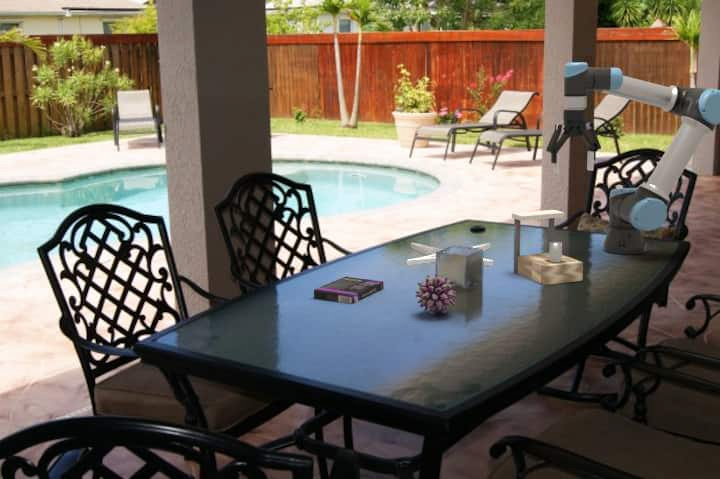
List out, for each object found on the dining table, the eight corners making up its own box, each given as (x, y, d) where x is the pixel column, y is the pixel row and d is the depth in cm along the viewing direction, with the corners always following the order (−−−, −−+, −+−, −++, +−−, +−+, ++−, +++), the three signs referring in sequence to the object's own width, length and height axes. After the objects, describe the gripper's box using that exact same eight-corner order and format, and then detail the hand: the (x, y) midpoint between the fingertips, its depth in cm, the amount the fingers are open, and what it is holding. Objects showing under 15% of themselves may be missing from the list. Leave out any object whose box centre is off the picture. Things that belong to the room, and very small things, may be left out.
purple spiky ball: (429, 322, 256) (429, 280, 254) (407, 312, 267) (407, 271, 264) (464, 316, 261) (464, 275, 259) (441, 306, 272) (441, 266, 270)
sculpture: (406, 259, 323) (410, 242, 352) (406, 267, 324) (410, 248, 353) (493, 260, 320) (490, 242, 349) (493, 267, 321) (490, 249, 350)
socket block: (554, 269, 314) (554, 251, 313) (582, 280, 299) (583, 262, 297) (517, 273, 310) (517, 255, 308) (544, 284, 294) (544, 266, 293)
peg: (563, 280, 300) (564, 243, 297) (553, 281, 298) (553, 244, 296) (557, 277, 303) (557, 241, 301) (546, 278, 302) (547, 242, 300)
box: (352, 307, 276) (384, 290, 293) (352, 295, 276) (384, 279, 292) (313, 300, 283) (346, 285, 300) (312, 289, 283) (346, 274, 299)
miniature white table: (552, 267, 317) (554, 209, 313) (563, 271, 311) (564, 212, 307) (511, 272, 311) (511, 213, 307) (520, 276, 306) (521, 216, 301)
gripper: (599, 106, 321) (597, 168, 326) (536, 109, 313) (535, 172, 317) (612, 108, 314) (610, 170, 319) (548, 111, 306) (547, 175, 310)
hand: (573, 171), depth 318 cm, fingers open, 13 cm apart
